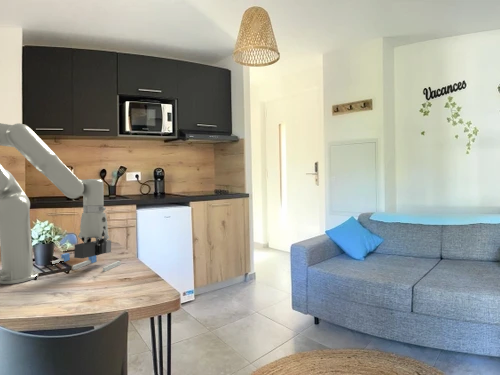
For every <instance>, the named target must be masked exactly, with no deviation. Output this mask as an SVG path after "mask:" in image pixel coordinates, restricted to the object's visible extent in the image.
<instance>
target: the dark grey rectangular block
mask: <svg viewBox="0 0 500 375" xmlns="http://www.w3.org/2000/svg"><path fill="white" fill-rule="evenodd" d="M99 241H100V239H99ZM96 245H97V244H96V240H93V241H92V240H91V242H87V243H84V242H82V243H78V244H74V248H73V249H74V251H73V252H74V254H73V256H74V257H73V258H74V259H85V258H88V257H91V256H95V246H96ZM109 253H112V240H111V239H110V240H109V239H107V240H106V241H105V242H104V243H103V244H102V254H101V255H103V254H109Z"/></svg>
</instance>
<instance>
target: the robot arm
mask: <svg viewBox="0 0 500 375" xmlns="http://www.w3.org/2000/svg"><path fill="white" fill-rule="evenodd" d="M0 146H3V147H10V148H14V149H16V150H17V151H18V152H19V153H20V154H21V155H22V156H23V157H24V158H25V159H26V160H27V161H28V162H29V163H30V164H31V165H32V166H33V167H34V168H35V169H36V170H37V171H39V173H41V175H44V176H45V177H46V178H47V179H48V180H49V181H50V182H51V183H52V184H53V185H54V186H55V187H56V188H57V189H58V190H59V191H60V192H61V193H62V194H63V195H64V196H65V197H67V198H69V199H78V198H80V197H83V199H82V201H83V202H82V205H83V206H82V207H83V208H82V210H83V211H82V214H81V217H80V226H79V227H80V228H79V230H80V232H79V233H78V235H77V237H78V238H79V239H81V241H82V243H87V242H92V239H95V241H96V244H97V245H96V246H95V255H96V256H99V255H100V256H101V255H103V254H102V244H103V243H104V242H105V241H106V240H109V239H110V236H109V229H108V228H109V227H108V220H107V219H108V218H107V214H106V212H104V211H106V207H105V206H104V201H105V200H104V193H105V192H104V190H105V189H104V185H105V184H104V181H103V180H102V179H98V178H87V179H80V178H78V176H76V174H74V173H73V171H71V170H70V169H69V168H68V167H67V166H66V164H65V163H64V162H63V161H62V160H61V159H60V158H59V156H58V155H57V154H56V153H55V152H54V151H53V150H52V149H51V148H50V147H49V146H48V145H47V144H46V143H45V142H44V141H43V140H42V138H40V136H39V135H37V134H36V133H35V131H33V129H32V128H31V127H29V126H28V125H27V124H23V123H14V124H8V123H0ZM30 208H31V201H30V199H29V197H28V196H27V194H26V193H25V191H24V190H23V189H22V187H21V185H20V184H19V182H18V181H17V180H16V178H15V176H14V175H13V174H12V173H11V172H10V171H9V170H7V169H5V168H4V167H3V165H2V164H1V163H0V261H1V269H0V284H1V285H12V284H20V283H25V282H30V281H32V280H34V279H36V278H37V277H39V272H38V271H36V270H34V261H33V245H32V243H33V242H32V230H31V229H32V228H31V216H30V215H31V214H30V212H31V211H30V210H31V209H30ZM99 240H100V241H99ZM36 276H37V277H36ZM35 277H36V278H35Z"/></svg>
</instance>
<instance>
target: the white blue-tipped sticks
mask: <svg viewBox="0 0 500 375" xmlns="http://www.w3.org/2000/svg"><path fill="white" fill-rule="evenodd" d="M60 256H61V258H59V259H56V260H53V261H51V262H52V264H55V263H59V262H60V261H64V262H63V263H65V262H68V261H70V258H71V257H70V252H66V253H63V254H61V255H60ZM87 258H88V259H87V260H84V261H83V262H82V261H81V262H79V263H76V264H74V265H72V270H73V271H74V270H77V269H80V268H83V267H86V266H87V265H90V264H93V263H96V262H97V255H95V256H91V257H87ZM59 264H60V263H59ZM121 264H122V263H121V260H117V261H115V262H113V263H110V264H108V265H105V266H104V267H102V272H107V271H110V270H111V269H114V268H116V267H118V266H120V265H121Z"/></svg>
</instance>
